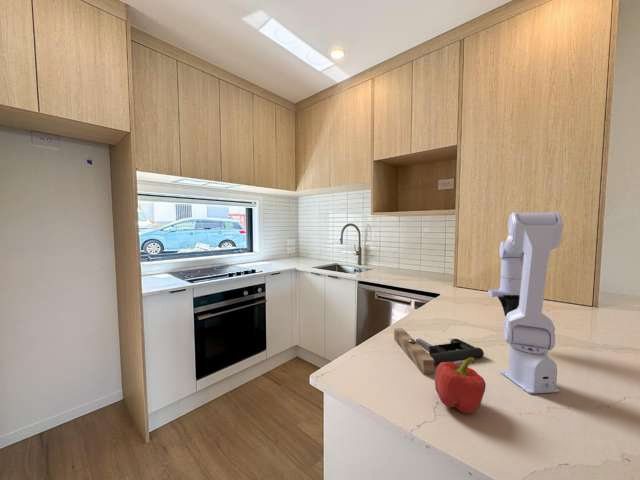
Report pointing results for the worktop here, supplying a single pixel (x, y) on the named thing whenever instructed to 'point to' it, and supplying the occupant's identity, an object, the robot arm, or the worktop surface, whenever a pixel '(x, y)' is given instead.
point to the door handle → (451, 351)
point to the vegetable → (459, 386)
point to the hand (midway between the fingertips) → (508, 317)
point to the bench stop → (414, 351)
